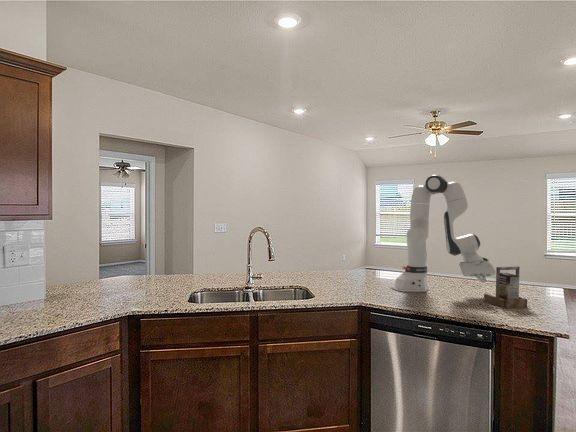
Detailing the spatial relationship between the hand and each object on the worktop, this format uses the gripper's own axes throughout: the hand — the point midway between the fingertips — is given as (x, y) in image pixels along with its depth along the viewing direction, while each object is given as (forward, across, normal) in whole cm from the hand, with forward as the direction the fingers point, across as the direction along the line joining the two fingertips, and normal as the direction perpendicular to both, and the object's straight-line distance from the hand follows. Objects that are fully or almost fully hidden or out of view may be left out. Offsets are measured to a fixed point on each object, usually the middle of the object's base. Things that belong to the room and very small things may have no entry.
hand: (484, 281), depth 231 cm
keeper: (+17, 0, -5) cm, 18 cm away
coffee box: (+18, +1, -6) cm, 19 cm away
